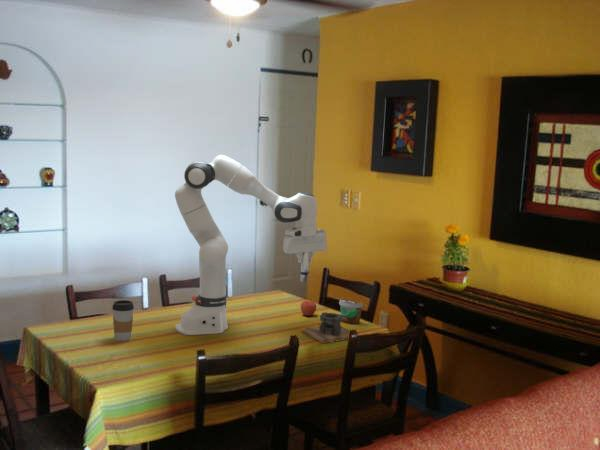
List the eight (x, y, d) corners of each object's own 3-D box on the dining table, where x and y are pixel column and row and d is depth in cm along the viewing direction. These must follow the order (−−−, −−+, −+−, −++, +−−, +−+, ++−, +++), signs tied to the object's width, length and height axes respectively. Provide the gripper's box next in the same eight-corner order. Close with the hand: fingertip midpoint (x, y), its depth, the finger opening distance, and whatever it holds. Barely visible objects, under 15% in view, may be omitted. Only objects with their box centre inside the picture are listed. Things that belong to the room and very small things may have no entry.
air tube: (303, 282, 295) (304, 245, 292) (298, 280, 298) (299, 243, 295) (309, 281, 297) (310, 244, 294) (305, 279, 299) (306, 243, 297)
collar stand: (322, 343, 284) (323, 323, 282) (302, 332, 297) (303, 313, 296) (358, 338, 293) (359, 318, 292) (336, 327, 306) (338, 308, 305)
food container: (332, 320, 317) (333, 299, 316) (340, 318, 322) (342, 297, 320) (353, 326, 309) (354, 305, 307) (361, 324, 313) (363, 302, 312)
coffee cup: (110, 336, 279) (110, 300, 276) (131, 335, 282) (132, 299, 280) (113, 343, 271) (113, 306, 269) (135, 341, 274) (135, 304, 272)
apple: (307, 312, 328) (308, 296, 327) (319, 316, 323) (320, 299, 322) (296, 315, 323) (297, 298, 322) (308, 318, 318) (309, 301, 317)
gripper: (322, 228, 302) (321, 259, 304) (281, 230, 291) (280, 262, 293) (330, 230, 297) (329, 261, 299) (289, 233, 286) (288, 265, 288)
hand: (304, 262), depth 296 cm, fingers closed on air tube, 3 cm apart
